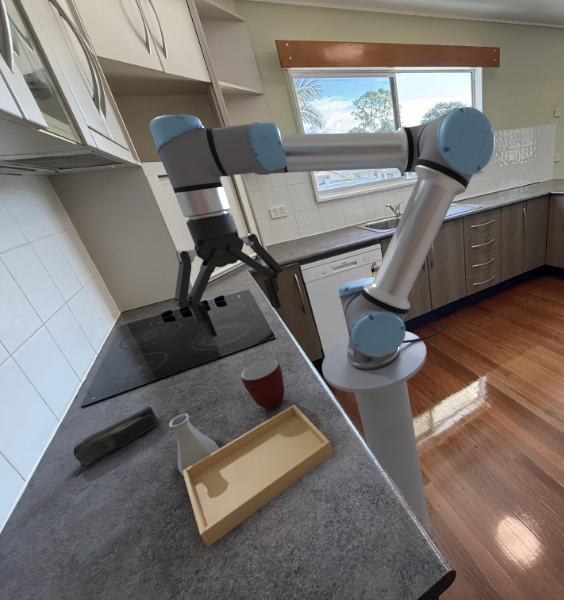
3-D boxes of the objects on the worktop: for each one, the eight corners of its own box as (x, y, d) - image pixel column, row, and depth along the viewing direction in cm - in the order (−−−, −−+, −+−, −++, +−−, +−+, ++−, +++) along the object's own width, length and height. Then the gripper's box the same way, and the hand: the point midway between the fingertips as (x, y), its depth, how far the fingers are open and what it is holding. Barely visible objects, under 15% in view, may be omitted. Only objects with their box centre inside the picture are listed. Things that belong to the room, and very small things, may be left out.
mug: (242, 406, 74) (227, 371, 70) (272, 386, 80) (259, 353, 76) (268, 421, 68) (253, 384, 64) (298, 398, 74) (286, 363, 70)
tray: (297, 414, 68) (294, 404, 67) (333, 453, 57) (329, 441, 56) (188, 482, 56) (182, 470, 55) (208, 547, 45) (200, 534, 44)
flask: (219, 437, 65) (201, 400, 61) (221, 461, 59) (200, 422, 55) (179, 456, 62) (157, 417, 58) (177, 483, 56) (152, 442, 52)
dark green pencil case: (148, 403, 72) (59, 450, 61) (153, 407, 70) (61, 456, 59) (157, 420, 74) (72, 469, 63) (162, 424, 72) (75, 475, 61)
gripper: (262, 204, 67) (289, 295, 75) (118, 230, 50) (173, 344, 58) (281, 202, 62) (307, 299, 71) (128, 231, 45) (186, 354, 54)
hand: (246, 320), depth 64 cm, fingers open, 13 cm apart
